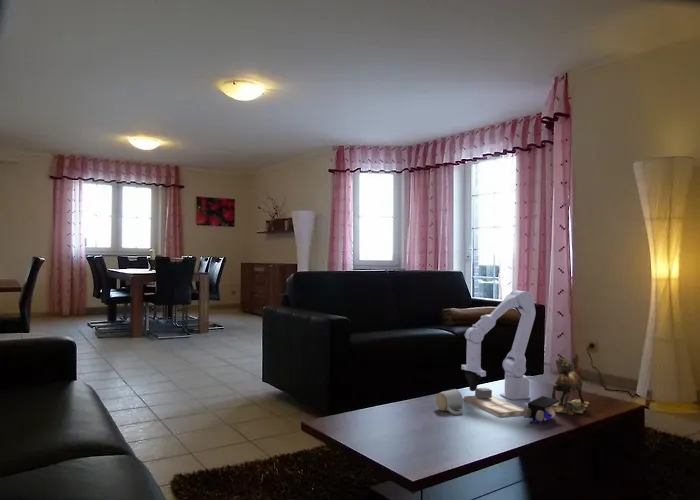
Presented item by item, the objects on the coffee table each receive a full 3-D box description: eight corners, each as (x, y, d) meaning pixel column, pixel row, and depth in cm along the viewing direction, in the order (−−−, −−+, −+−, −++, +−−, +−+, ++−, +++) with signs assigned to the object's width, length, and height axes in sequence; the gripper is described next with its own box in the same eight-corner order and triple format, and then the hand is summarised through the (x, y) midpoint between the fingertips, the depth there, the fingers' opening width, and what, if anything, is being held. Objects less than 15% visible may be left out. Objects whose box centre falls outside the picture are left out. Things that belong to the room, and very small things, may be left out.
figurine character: (541, 432, 173) (560, 418, 184) (540, 410, 172) (559, 397, 183) (522, 427, 178) (541, 414, 188) (521, 406, 177) (541, 393, 188)
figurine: (541, 410, 194) (542, 356, 195) (567, 398, 212) (568, 349, 213) (576, 418, 185) (577, 361, 186) (600, 405, 203) (601, 354, 204)
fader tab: (485, 395, 207) (485, 387, 207) (491, 397, 203) (491, 389, 203) (475, 396, 205) (475, 388, 205) (481, 398, 201) (481, 390, 201)
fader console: (489, 398, 210) (489, 394, 210) (527, 414, 189) (527, 409, 189) (463, 400, 206) (463, 396, 206) (499, 416, 184) (500, 412, 184)
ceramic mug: (434, 408, 193) (434, 388, 193) (451, 406, 197) (451, 387, 197) (451, 416, 184) (451, 396, 184) (468, 414, 187) (469, 393, 188)
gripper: (455, 354, 216) (454, 386, 216) (475, 361, 203) (474, 395, 202) (469, 353, 219) (469, 385, 218) (490, 360, 205) (489, 394, 205)
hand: (472, 390), depth 211 cm, fingers closed
